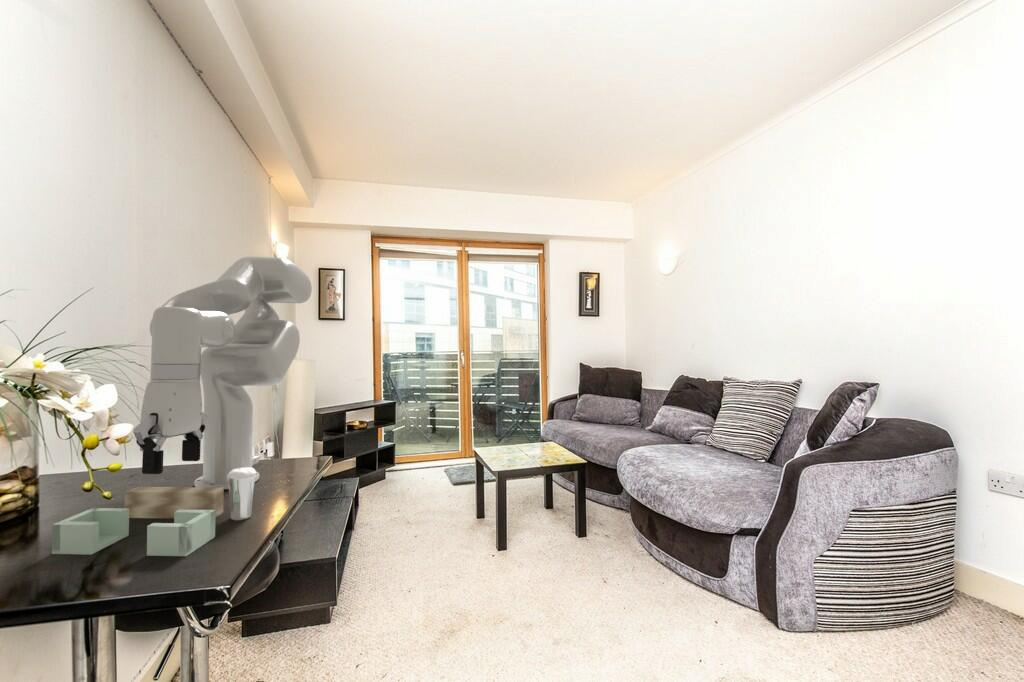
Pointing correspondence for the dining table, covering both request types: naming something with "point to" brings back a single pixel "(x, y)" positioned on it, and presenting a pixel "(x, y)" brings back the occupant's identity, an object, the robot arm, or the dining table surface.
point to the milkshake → (241, 491)
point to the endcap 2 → (181, 533)
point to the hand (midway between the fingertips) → (172, 466)
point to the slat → (172, 500)
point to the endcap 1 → (90, 531)
